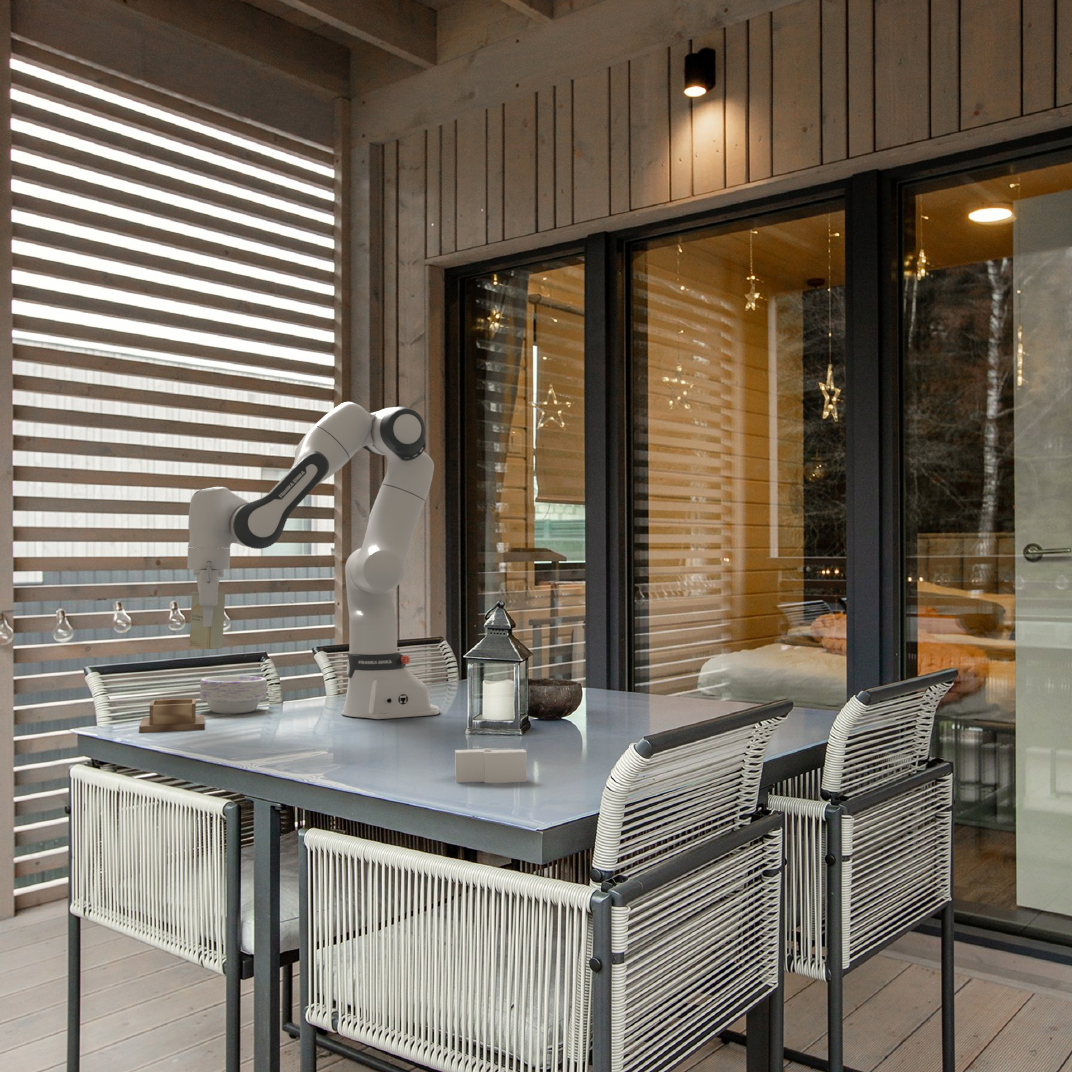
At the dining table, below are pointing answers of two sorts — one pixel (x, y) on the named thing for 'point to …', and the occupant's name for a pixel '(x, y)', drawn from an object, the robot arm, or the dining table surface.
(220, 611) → the skincare box
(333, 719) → the dining table surface
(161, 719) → the box
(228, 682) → the paper bowls
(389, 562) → the robot arm
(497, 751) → the napkin holder
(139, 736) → the dining table surface
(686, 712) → the dining table surface
